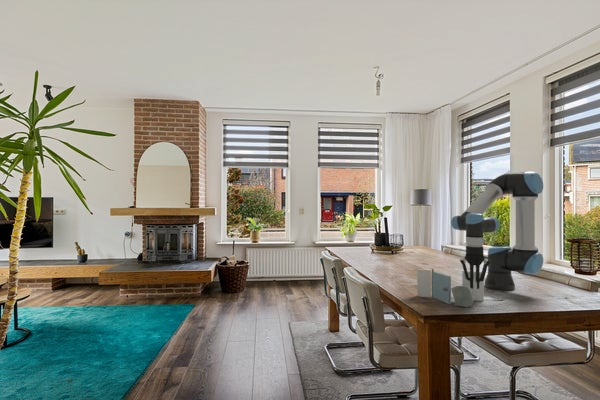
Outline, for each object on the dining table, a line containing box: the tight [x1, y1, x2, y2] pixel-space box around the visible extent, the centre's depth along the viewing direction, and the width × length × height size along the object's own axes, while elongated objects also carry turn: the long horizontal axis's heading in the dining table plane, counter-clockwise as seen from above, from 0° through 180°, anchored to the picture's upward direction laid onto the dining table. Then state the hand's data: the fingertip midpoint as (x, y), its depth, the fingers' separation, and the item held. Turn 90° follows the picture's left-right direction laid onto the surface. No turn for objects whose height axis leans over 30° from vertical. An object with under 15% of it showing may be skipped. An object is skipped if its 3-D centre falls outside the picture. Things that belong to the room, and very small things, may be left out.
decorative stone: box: [451, 285, 474, 308], centre depth 165 cm, size 13×11×10 cm
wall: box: [416, 268, 485, 302], centre depth 176 cm, size 31×1×14 cm, turn 74°
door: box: [432, 270, 452, 305], centre depth 171 cm, size 12×3×13 cm, turn 14°
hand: (474, 295), depth 165 cm, fingers closed
